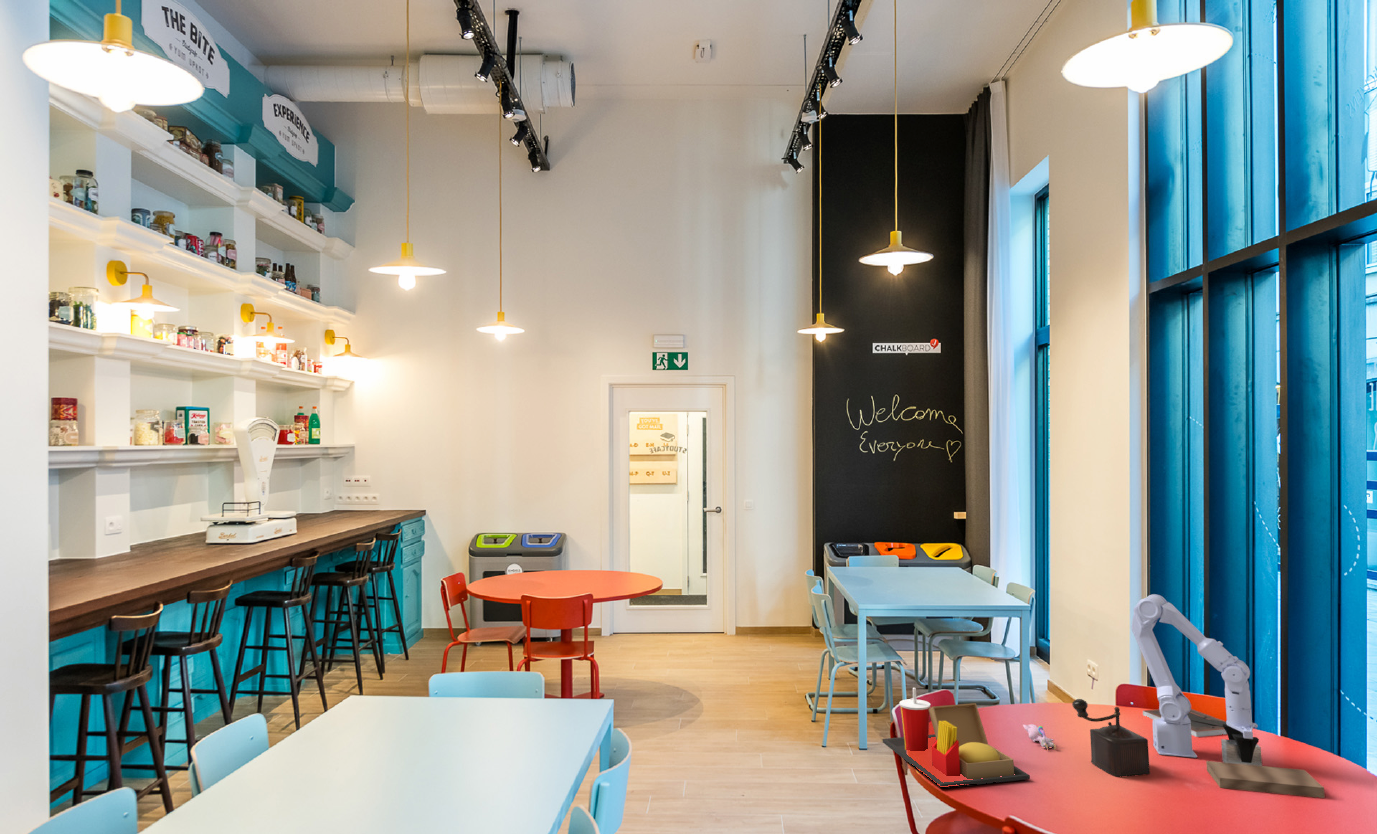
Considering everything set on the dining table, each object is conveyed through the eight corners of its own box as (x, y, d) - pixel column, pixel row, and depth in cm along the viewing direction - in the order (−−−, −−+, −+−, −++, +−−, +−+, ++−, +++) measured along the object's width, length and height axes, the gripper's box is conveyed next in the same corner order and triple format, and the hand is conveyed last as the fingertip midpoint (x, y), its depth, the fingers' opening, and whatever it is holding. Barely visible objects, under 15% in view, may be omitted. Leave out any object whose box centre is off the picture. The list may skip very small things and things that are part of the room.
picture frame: (1243, 735, 240) (1186, 713, 261) (1242, 726, 240) (1186, 706, 262) (1196, 739, 237) (1143, 717, 258) (1196, 731, 237) (1142, 709, 259)
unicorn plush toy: (1061, 755, 228) (1035, 730, 243) (1062, 735, 228) (1036, 711, 243) (1041, 756, 228) (1015, 730, 243) (1041, 736, 227) (1016, 712, 242)
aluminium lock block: (1227, 766, 214) (1226, 744, 214) (1222, 761, 218) (1221, 738, 219) (1262, 770, 211) (1260, 747, 212) (1256, 764, 216) (1255, 741, 216)
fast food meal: (941, 792, 202) (938, 718, 203) (882, 745, 236) (880, 682, 238) (1030, 782, 207) (1026, 711, 208) (960, 738, 241) (957, 677, 242)
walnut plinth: (1220, 787, 200) (1219, 777, 200) (1206, 770, 212) (1206, 760, 212) (1324, 798, 193) (1323, 787, 193) (1305, 779, 204) (1304, 769, 204)
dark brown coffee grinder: (1123, 759, 221) (1119, 694, 222) (1151, 774, 210) (1147, 705, 211) (1072, 763, 218) (1068, 697, 220) (1097, 778, 207) (1094, 709, 209)
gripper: (1264, 715, 208) (1268, 768, 207) (1246, 700, 221) (1250, 749, 220) (1233, 713, 210) (1237, 765, 209) (1217, 698, 224) (1220, 747, 223)
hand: (1241, 757), depth 215 cm, fingers open, 7 cm apart
